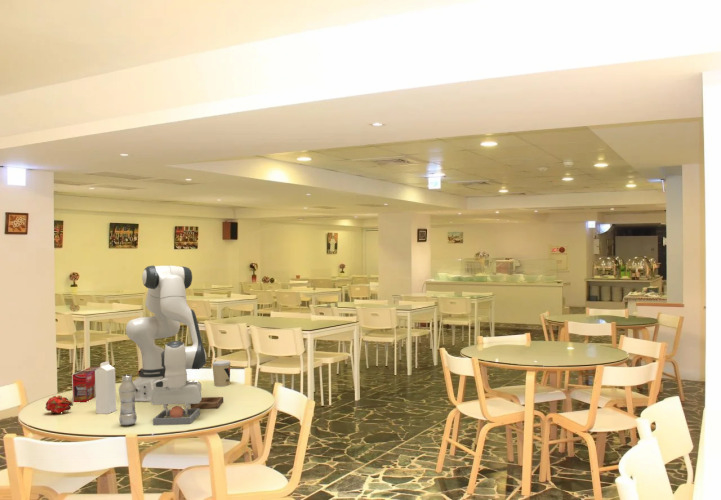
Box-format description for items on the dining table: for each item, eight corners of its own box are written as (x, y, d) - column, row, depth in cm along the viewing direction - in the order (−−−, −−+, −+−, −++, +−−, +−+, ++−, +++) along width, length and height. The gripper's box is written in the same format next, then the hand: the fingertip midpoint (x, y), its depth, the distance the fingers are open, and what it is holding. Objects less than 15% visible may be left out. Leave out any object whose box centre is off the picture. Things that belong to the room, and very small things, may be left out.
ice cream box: (90, 393, 318) (89, 367, 319) (103, 393, 319) (102, 366, 319) (72, 402, 298) (72, 374, 299) (86, 402, 299) (85, 374, 299)
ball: (168, 421, 258) (167, 408, 258) (172, 418, 264) (171, 404, 264) (182, 421, 258) (181, 407, 258) (185, 417, 264) (185, 404, 264)
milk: (96, 413, 275) (94, 363, 276) (104, 410, 281) (102, 360, 281) (108, 414, 274) (106, 363, 274) (116, 410, 280) (114, 360, 280)
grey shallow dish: (153, 425, 253) (152, 418, 253) (164, 415, 268) (164, 409, 268) (190, 423, 253) (190, 417, 253) (199, 414, 268) (199, 408, 268)
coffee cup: (229, 386, 324) (228, 363, 324) (210, 387, 324) (210, 363, 324) (232, 382, 333) (232, 360, 334) (215, 383, 334) (214, 360, 334)
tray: (190, 409, 278) (190, 403, 278) (197, 402, 290) (197, 397, 290) (217, 408, 278) (217, 403, 278) (223, 402, 290) (223, 396, 290)
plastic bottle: (122, 423, 258) (120, 374, 258) (139, 422, 258) (137, 373, 258) (117, 427, 251) (115, 377, 251) (134, 426, 252) (133, 376, 252)
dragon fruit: (45, 416, 279) (71, 420, 279) (37, 409, 273) (64, 412, 272) (53, 398, 284) (78, 401, 284) (46, 390, 278) (72, 394, 277)
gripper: (203, 378, 264) (204, 411, 264) (154, 380, 264) (155, 413, 264) (199, 381, 258) (200, 415, 258) (149, 383, 258) (150, 417, 258)
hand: (177, 414), depth 261 cm, fingers closed on ball, 6 cm apart
